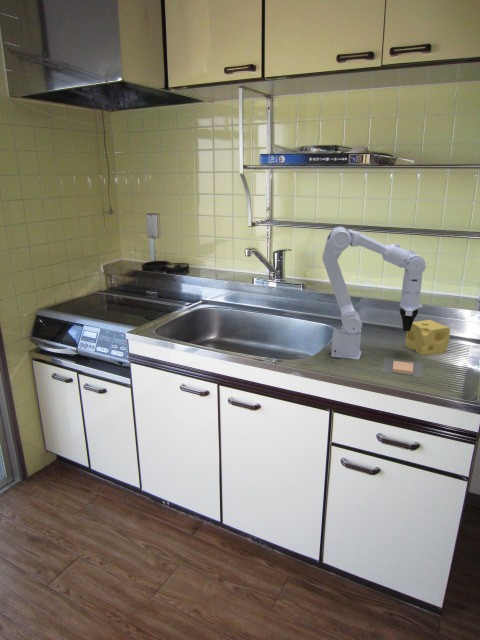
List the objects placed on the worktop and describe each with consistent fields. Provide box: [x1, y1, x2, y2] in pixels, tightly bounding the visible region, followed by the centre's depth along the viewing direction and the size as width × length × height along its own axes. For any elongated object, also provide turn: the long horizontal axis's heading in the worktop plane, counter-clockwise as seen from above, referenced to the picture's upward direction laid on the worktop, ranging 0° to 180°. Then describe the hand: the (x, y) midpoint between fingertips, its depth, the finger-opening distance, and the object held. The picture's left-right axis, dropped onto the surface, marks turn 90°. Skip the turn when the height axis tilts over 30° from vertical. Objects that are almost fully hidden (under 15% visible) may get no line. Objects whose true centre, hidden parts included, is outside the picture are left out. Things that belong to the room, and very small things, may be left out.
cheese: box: [404, 319, 451, 357], centre depth 162 cm, size 10×11×10 cm
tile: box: [392, 361, 413, 375], centre depth 146 cm, size 6×1×7 cm
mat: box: [381, 357, 424, 379], centre depth 148 cm, size 12×13×1 cm
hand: (406, 330), depth 154 cm, fingers closed
